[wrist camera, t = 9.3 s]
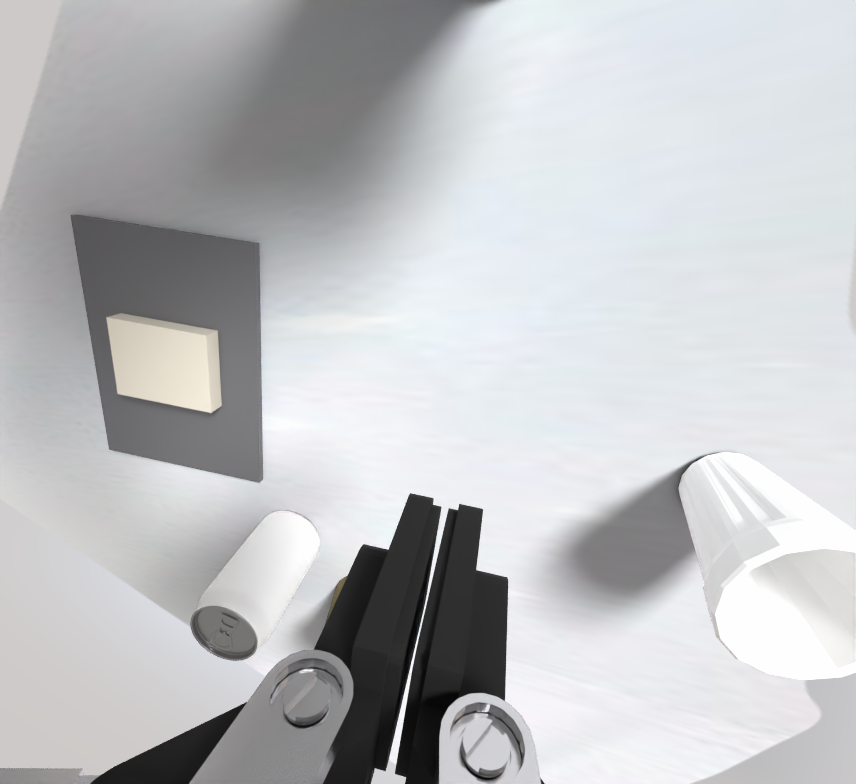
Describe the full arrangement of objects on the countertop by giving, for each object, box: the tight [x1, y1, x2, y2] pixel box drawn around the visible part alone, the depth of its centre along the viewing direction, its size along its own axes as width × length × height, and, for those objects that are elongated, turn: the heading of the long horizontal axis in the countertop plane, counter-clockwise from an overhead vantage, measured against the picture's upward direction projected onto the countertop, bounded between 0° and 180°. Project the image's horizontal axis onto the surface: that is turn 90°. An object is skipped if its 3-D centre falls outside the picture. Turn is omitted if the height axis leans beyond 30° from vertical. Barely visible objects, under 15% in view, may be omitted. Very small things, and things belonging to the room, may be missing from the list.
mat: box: [71, 215, 263, 482], centre depth 42 cm, size 22×16×1 cm
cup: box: [678, 452, 856, 680], centre depth 31 cm, size 10×10×13 cm
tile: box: [106, 313, 222, 413], centre depth 41 cm, size 7×2×9 cm
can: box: [191, 511, 320, 661], centre depth 42 cm, size 6×6×12 cm
